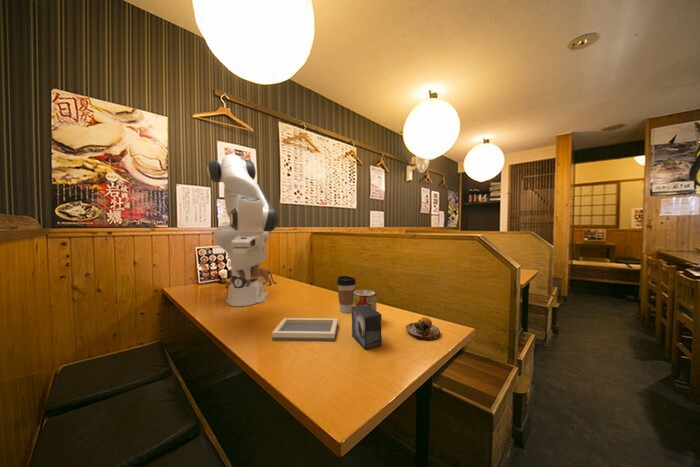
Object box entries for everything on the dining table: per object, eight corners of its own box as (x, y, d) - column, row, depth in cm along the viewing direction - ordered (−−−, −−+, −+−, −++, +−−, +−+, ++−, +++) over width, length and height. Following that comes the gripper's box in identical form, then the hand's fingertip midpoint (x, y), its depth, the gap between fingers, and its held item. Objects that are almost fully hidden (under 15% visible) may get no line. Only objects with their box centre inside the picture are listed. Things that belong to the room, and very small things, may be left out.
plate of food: (409, 324, 95) (409, 305, 95) (441, 330, 90) (441, 310, 90) (401, 337, 84) (401, 316, 84) (438, 344, 79) (438, 322, 79)
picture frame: (284, 324, 95) (284, 317, 95) (337, 324, 94) (337, 318, 94) (272, 340, 82) (272, 332, 82) (334, 341, 81) (334, 333, 81)
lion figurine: (233, 287, 87) (234, 262, 88) (236, 285, 92) (237, 261, 93) (276, 286, 90) (276, 261, 91) (277, 284, 95) (277, 261, 96)
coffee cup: (344, 306, 116) (344, 274, 115) (359, 310, 111) (359, 277, 110) (333, 311, 109) (333, 278, 108) (348, 315, 104) (348, 280, 103)
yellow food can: (350, 325, 94) (350, 294, 93) (357, 317, 102) (357, 288, 102) (373, 328, 91) (373, 296, 90) (378, 320, 99) (378, 290, 99)
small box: (350, 336, 85) (350, 306, 85) (367, 332, 88) (367, 303, 87) (364, 350, 75) (364, 316, 75) (382, 346, 78) (382, 313, 78)
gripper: (255, 238, 101) (255, 271, 102) (228, 242, 81) (229, 284, 81) (270, 238, 101) (270, 272, 102) (246, 242, 81) (247, 284, 81)
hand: (252, 277), depth 91 cm, fingers closed on lion figurine, 4 cm apart
